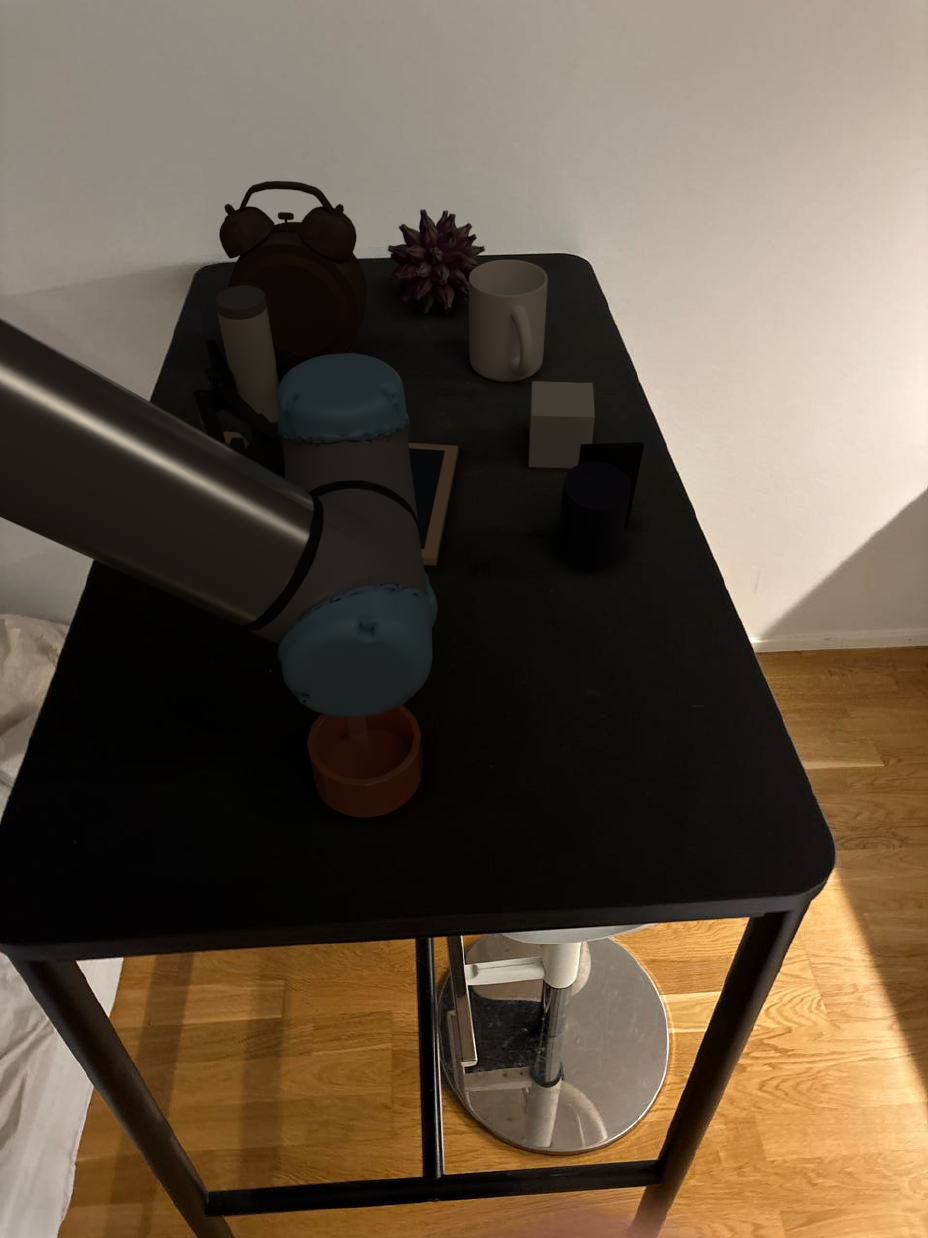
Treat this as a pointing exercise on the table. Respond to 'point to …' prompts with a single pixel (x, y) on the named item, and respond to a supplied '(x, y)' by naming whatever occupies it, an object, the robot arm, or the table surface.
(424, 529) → the picture frame
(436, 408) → the table surface
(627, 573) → the table surface
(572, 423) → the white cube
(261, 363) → the grey-capped cream cylinder
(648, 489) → the table surface
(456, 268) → the flower
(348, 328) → the alarm clock
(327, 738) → the bowl
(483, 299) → the mug
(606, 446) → the speaker
